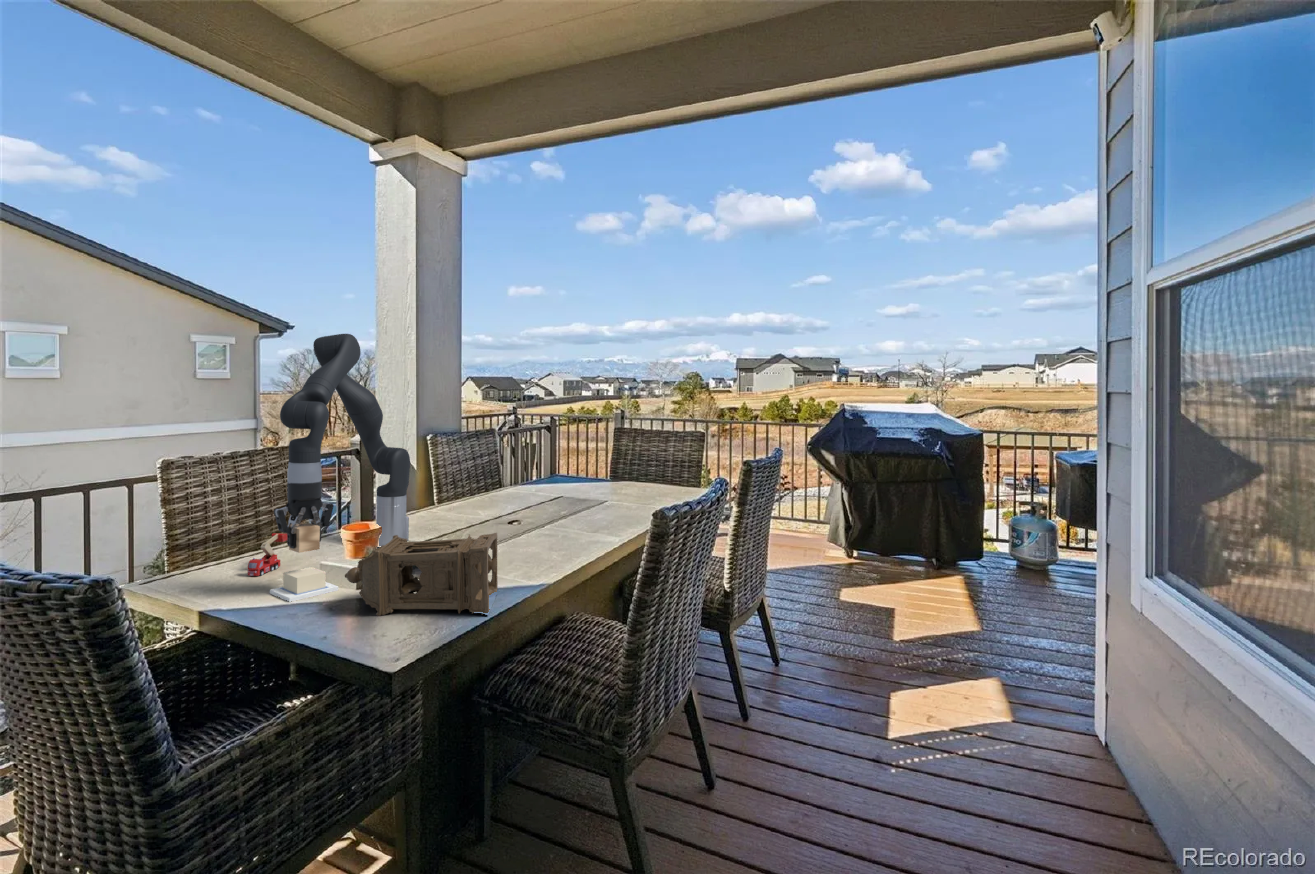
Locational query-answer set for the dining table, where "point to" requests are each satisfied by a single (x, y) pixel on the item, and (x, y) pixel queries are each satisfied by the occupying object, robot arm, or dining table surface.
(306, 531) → the oak block
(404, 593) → the brown stone lantern
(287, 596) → the board
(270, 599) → the dining table surface
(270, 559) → the toy fire truck
